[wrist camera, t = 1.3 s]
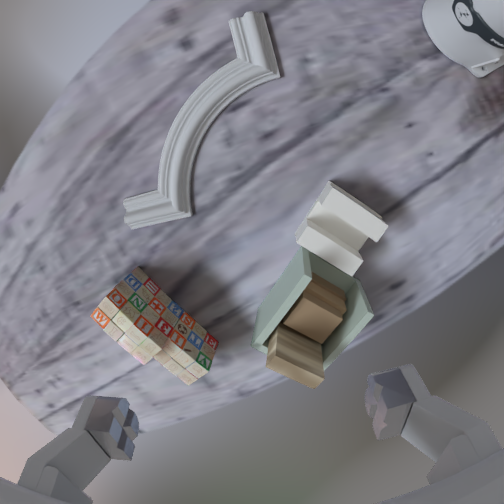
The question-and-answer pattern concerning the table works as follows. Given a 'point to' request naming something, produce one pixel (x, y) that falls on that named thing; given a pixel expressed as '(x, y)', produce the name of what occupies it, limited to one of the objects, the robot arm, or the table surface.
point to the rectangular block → (295, 356)
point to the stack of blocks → (155, 328)
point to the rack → (314, 305)
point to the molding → (204, 122)
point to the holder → (339, 228)
